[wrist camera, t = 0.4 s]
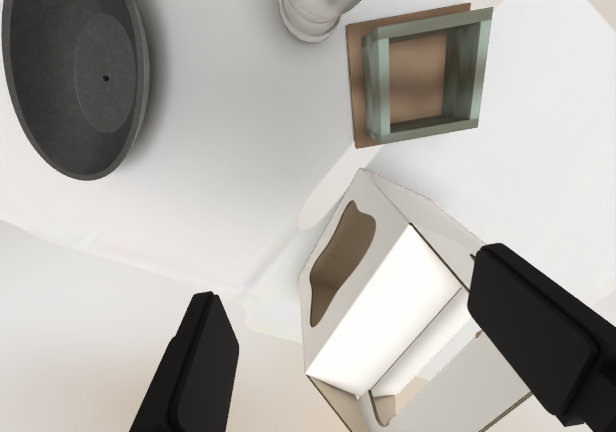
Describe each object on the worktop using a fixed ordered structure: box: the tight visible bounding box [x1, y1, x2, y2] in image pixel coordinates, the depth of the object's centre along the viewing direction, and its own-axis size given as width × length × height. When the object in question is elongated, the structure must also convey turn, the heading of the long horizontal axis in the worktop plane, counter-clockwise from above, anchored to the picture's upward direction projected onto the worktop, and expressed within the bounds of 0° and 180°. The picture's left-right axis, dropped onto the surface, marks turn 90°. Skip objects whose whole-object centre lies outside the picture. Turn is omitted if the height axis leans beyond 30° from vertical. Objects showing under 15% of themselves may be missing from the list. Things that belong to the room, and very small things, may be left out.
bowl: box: [2, 0, 150, 181], centre depth 28 cm, size 12×22×6 cm, turn 158°
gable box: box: [299, 168, 533, 432], centre depth 31 cm, size 22×13×28 cm, turn 155°
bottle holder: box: [346, 3, 493, 149], centre depth 30 cm, size 14×14×7 cm
